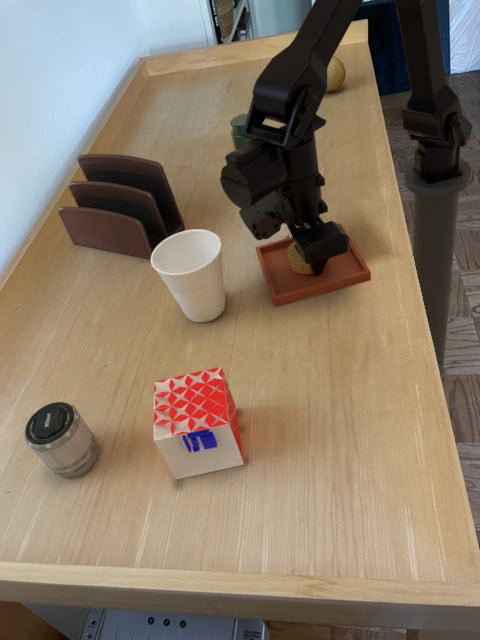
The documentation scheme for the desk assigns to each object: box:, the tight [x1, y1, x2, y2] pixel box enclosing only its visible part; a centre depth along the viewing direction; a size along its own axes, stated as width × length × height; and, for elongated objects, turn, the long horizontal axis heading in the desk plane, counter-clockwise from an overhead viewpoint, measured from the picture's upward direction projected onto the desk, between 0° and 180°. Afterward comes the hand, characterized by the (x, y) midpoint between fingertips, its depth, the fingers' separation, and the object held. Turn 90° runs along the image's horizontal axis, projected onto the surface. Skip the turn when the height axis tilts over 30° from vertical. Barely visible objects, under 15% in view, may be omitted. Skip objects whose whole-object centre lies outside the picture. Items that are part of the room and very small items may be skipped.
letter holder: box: [57, 153, 185, 260], centre depth 94 cm, size 10×20×14 cm, turn 61°
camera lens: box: [24, 401, 100, 479], centre depth 62 cm, size 6×6×8 cm
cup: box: [150, 228, 226, 323], centre depth 76 cm, size 10×10×11 cm
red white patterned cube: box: [153, 365, 245, 480], centre depth 60 cm, size 8×8×8 cm
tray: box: [254, 222, 372, 307], centre depth 81 cm, size 14×13×2 cm
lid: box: [287, 241, 329, 274], centre depth 80 cm, size 6×6×2 cm
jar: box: [229, 112, 251, 151], centre depth 103 cm, size 6×6×11 cm
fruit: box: [325, 55, 347, 93], centre depth 123 cm, size 8×8×8 cm
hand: (309, 262), depth 81 cm, fingers closed on lid, 6 cm apart
